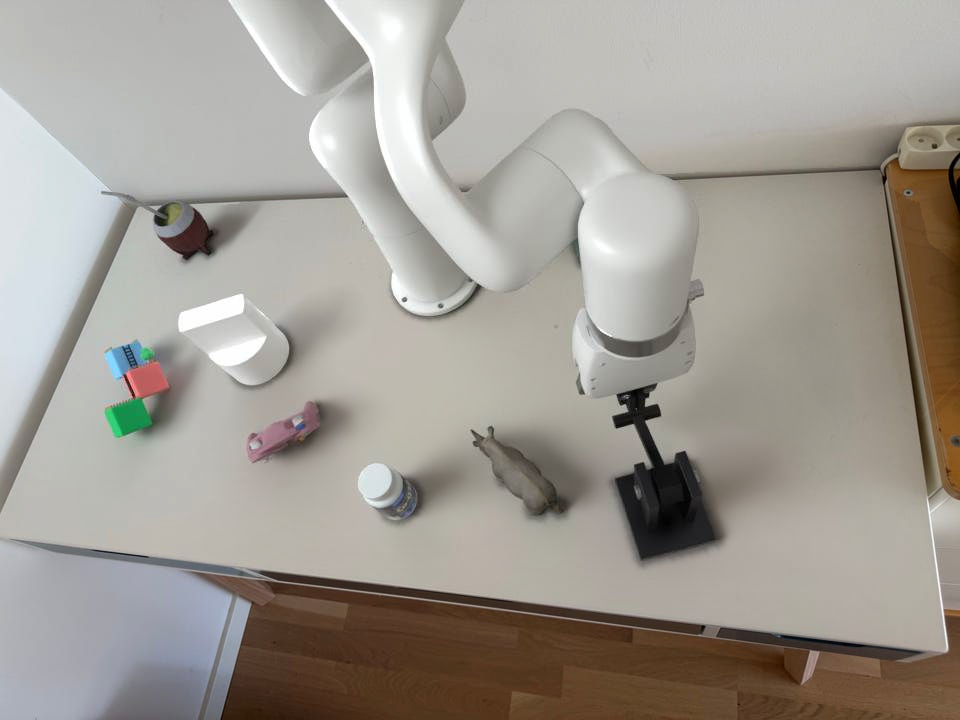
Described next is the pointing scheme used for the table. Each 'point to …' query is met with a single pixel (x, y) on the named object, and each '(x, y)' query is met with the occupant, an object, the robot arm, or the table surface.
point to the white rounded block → (237, 338)
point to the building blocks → (133, 386)
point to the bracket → (664, 512)
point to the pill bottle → (387, 491)
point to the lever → (653, 455)
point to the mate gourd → (177, 226)
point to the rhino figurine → (519, 474)
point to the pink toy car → (282, 433)
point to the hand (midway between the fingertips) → (632, 399)
